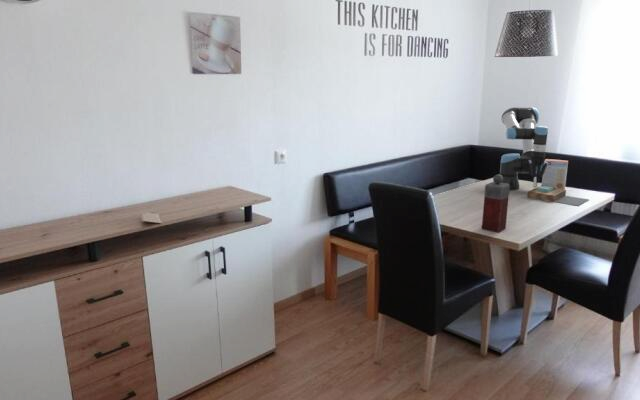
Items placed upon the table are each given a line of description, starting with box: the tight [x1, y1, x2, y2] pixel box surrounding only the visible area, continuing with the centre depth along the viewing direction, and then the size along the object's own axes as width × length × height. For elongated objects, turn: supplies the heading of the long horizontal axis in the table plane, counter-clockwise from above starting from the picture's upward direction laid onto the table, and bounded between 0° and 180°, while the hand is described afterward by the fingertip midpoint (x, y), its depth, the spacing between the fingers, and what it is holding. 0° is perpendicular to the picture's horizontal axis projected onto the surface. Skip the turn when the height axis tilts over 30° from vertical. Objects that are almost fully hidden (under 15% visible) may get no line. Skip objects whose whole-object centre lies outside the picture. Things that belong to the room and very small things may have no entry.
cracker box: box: [540, 158, 569, 190], centre depth 316 cm, size 14×6×21 cm, turn 58°
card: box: [538, 186, 553, 192], centre depth 303 cm, size 6×9×2 cm, turn 135°
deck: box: [527, 186, 567, 203], centre depth 303 cm, size 16×20×4 cm
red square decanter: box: [481, 173, 510, 234], centre depth 239 cm, size 9×11×28 cm
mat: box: [553, 195, 590, 207], centre depth 294 cm, size 14×20×1 cm
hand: (534, 187), depth 308 cm, fingers closed
